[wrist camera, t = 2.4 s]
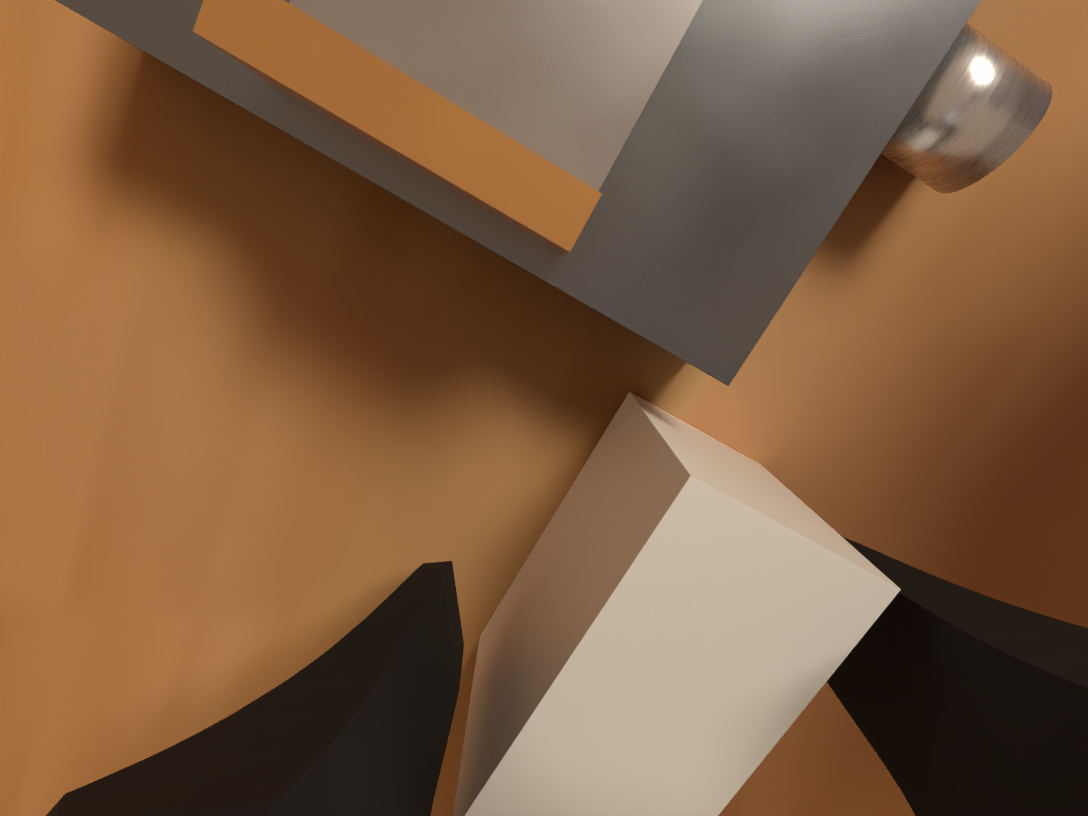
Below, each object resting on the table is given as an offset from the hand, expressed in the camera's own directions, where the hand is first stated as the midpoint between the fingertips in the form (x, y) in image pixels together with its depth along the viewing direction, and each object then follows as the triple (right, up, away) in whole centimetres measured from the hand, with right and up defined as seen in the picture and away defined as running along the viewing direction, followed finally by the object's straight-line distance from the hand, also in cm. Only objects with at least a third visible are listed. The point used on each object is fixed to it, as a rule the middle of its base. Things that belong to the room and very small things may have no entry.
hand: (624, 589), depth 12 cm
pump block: (0, 0, +1) cm, 2 cm away
